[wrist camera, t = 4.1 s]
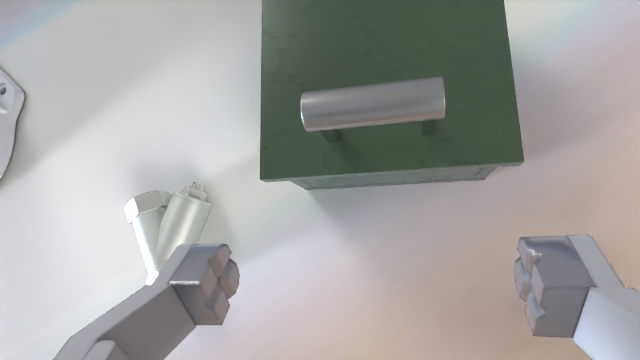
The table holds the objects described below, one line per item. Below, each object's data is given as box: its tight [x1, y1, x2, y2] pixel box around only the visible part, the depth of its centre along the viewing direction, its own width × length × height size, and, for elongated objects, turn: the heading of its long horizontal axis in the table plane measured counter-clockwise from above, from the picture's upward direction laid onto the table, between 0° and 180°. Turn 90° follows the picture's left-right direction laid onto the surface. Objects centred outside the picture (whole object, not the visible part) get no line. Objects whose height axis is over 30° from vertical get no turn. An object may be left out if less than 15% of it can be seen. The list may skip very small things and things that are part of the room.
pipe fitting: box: [124, 182, 212, 285], centre depth 31 cm, size 8×4×7 cm
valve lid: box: [260, 0, 524, 182], centre depth 19 cm, size 15×14×6 cm
